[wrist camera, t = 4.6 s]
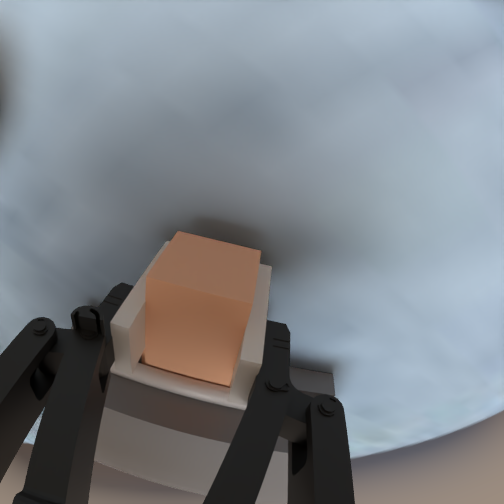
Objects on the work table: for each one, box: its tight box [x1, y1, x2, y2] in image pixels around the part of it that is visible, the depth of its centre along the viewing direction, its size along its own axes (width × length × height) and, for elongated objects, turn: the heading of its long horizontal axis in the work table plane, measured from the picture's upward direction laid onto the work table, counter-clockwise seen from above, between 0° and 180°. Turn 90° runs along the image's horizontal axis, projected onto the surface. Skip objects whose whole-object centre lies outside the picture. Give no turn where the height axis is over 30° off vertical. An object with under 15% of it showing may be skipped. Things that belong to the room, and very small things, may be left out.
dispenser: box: [71, 325, 335, 504], centre depth 21 cm, size 13×19×7 cm
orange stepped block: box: [142, 231, 261, 388], centre depth 17 cm, size 18×7×4 cm, turn 168°
